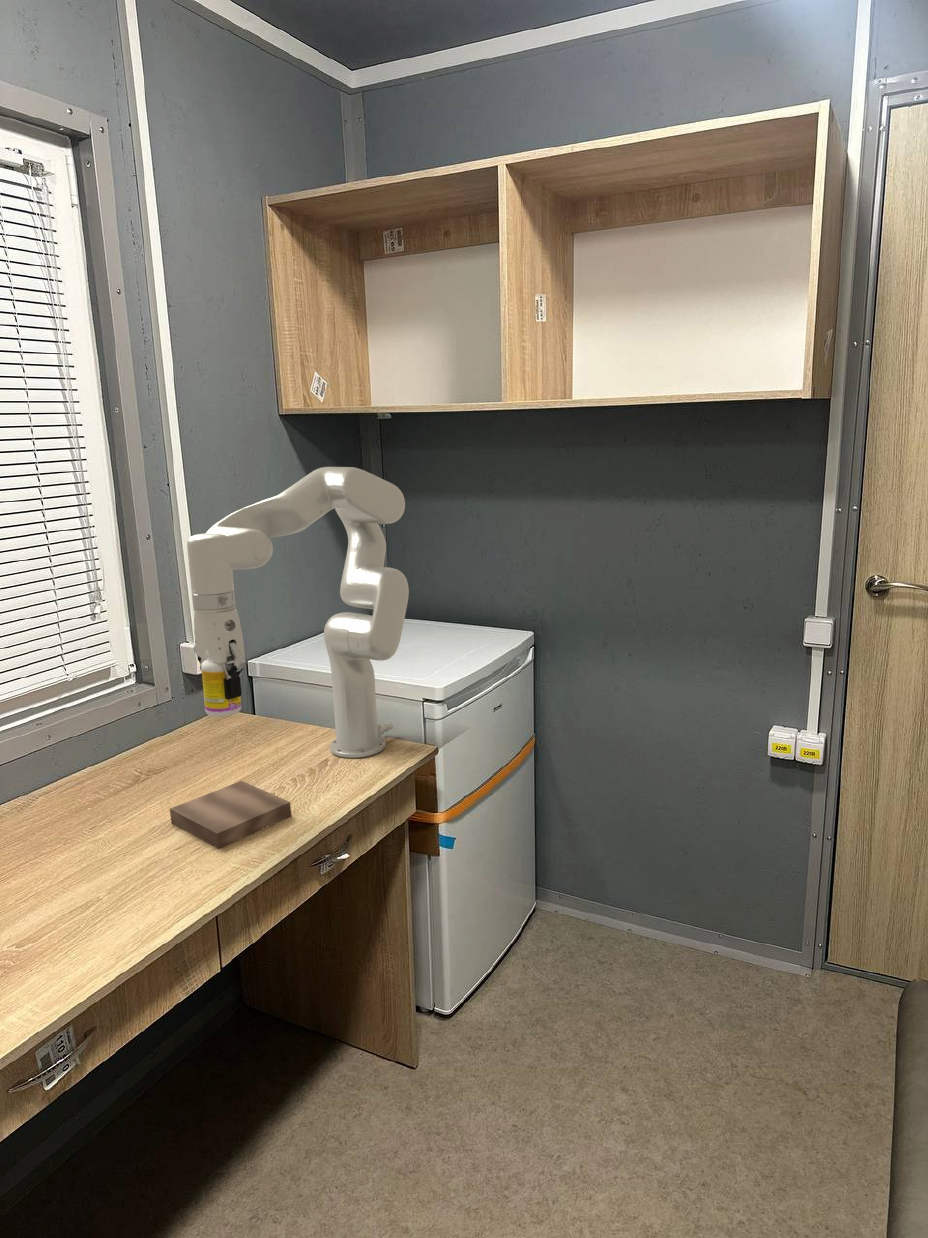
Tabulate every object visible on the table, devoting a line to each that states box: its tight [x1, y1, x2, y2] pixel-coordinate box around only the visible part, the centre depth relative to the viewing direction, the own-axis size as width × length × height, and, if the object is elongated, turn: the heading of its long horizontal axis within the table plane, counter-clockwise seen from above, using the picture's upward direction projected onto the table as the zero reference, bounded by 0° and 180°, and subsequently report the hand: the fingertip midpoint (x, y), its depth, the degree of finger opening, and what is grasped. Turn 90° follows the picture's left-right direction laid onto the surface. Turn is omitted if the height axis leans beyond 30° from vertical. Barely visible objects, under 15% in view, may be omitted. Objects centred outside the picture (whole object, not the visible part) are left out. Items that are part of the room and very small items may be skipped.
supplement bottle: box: [201, 650, 242, 718], centre depth 163 cm, size 7×7×13 cm
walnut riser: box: [169, 780, 292, 850], centre depth 166 cm, size 16×16×3 cm
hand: (222, 693), depth 164 cm, fingers closed on supplement bottle, 6 cm apart
